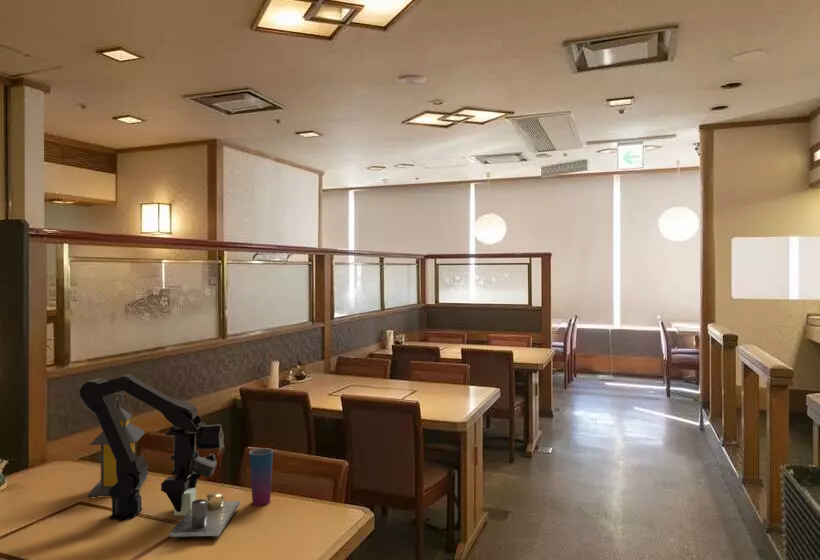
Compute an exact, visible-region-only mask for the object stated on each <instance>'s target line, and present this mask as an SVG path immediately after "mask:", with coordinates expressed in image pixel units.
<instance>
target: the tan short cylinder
mask: <svg viewBox="0 0 820 560" xmlns="http://www.w3.org/2000/svg"><path fill="white" fill-rule="evenodd" d="M206 500H207V508H210V509H216V508H220V507H222V506H223V501H224V493H223V492H220V491H214V492H210V493H207V495H206Z"/></svg>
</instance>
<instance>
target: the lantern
mask: <svg viewBox="0 0 820 560" xmlns="http://www.w3.org/2000/svg"><path fill="white" fill-rule="evenodd" d="M117 396H119V397H120V398H117ZM123 400H124V394H123V393H121V392H115V393H114V394H113V402H115V403H116V404H115V406H116V407H115V408H114V409H115V412H116V414H117V416H118V419H119V421H120V423H121V425H122V428H123V430H124V432H125V435H126V437H127V439H128V442H129V444H130V446H131V448H132V451H133V452H134V453H135V454H136V443H137V442H139V440H140V439H141V438H142V437H143V436H144V435H145V434H146V431H144V430H143V429H141V428H139V427H137V426H136V425H134V424H133V423H131V422H130V421H131V419H130V418H131V417H132V416H133V415H132V413H130V412H128V411H127V410H125V408H123V407H122V408H121V402H122V401H123ZM89 446H100V480H99V481H98V482H97V483H96V484H95V485H94V486H93V488H92V489H91V490H90V491H89V492H88V493H87V497H88V496H89V497H98V496H110V494H109V490H110V489H111V488H112V487H113V486H114V485H115V484H116V483H117V482H118V480H117V476H116V460H115V457H114V455H113V453H112V451H111V448H110V446H109V444H108V441H107V439H106V437H105V435H104V432H103V431H102V432H101V433H100V434H98V436H96V437H95V439H93V440H92V441H91V442H90V443H89ZM147 478H148V476H147V477H146V479H147ZM146 479H145V480H146ZM145 480H144V481H143V482H142V483H141V485H140V487H138V488H137V490H140V491H141V489H142V488H141V486H142V485H143V483H144V482H145ZM146 481H147V480H146ZM145 483H146V482H145ZM145 483H144V484H145ZM143 486H144V485H143ZM143 486H142V487H143ZM140 488H141V489H140Z"/></svg>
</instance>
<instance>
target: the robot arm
mask: <svg viewBox="0 0 820 560" xmlns="http://www.w3.org/2000/svg"><path fill="white" fill-rule="evenodd" d="M122 391H123V392H125V393H127V394H128V395H131V396H132V397H134V398H135V399H137V400H139V401H140V402H143V403H145V404H146V405H148V406H149V407H152V408H153V409H155V410H156V411H159V413H161V414H162V415H163V416H164V418H165V419H166V420H167V421H168V422H169V423H170V424H172V426H171V427H170V429H169V430H168V431H167V432H166V433H165V436H173V454H172V455H171V457H170V460H173V469H172V470H170V472H171V473H170V474H171V475H169V476H168V477H167V478H166V479H164V480H163V481H162V483H161V484H160V490H161V492H163V493H165V494H166V496H167V497H168V499H169V501H170V502H171V504H172V505H173V509H174V508H175V510H176V511H177V512H180V511H181V508H182V502H183V495H184V492H185V491H186V490H187V489H188V488H196V489H197V483H198V481H199V480H198V479H199V478H200V477H201V476H203V477H204V478H211V476H212V475H213V474H214V472H215V470H216V467H218V461H217V459H216V455H215V454H212V453H210V454H209V455H208V456H207V457H206V456H203V457H201V456H200V452H199V451H198V450H196V447H197V448H199V449H200V450H222V449H223V446H224V441H225V440H224V439H225V434H224V431H223V427H222V426H223V425H222V423H217V424H206V422H205V421H204V420H203V419H202V417H201V416H200V415H199V414H198V409H197V407H196V406H195V405H194V404H192V403H190V402H187V401H185V400H180V399H176V398H173V397H170V396H169V395H166V394H164V393H163V392H161V391H160V390H159V389H158V390H157V389H156V388H154V387H152V386H151V385H149V384H147V383H145V382H143V381H142V380H140V379H139V378H137V377H135V375H133V374H130V373H129V374H126V375H123V376H119V377H114V378H109V379H106V378H100V377H98V378H96V379H92V380H89V381H87V382H85V383H83V384H82V386H80V389H79V391H78V392H79V397H80V399H81V400H82V402H83V404H84V405H85V406H86V407H87V409H89V410H90V411H91V412H92V413H94V415H95V417H96V418H97V420H98V423H99V425H100V427H101V430H102V432H104V435H105V437H106V439H107V441H108V444H109V446H110V448H111V451H112V453H113V455H114V457H115V460H116V476H117V480H118V482H117V483H116V484H115V485H114V486H113V487H112V488H111V489H110V490H109V494H110V496H111V497H110V498H111V515H109V517H108V518H109V519H110V520H113V519H114V520H115V519H133V518H134V517H136V516H137V515H138V514H139V513H140V512H142V510H143V507H142V495H140V491H141V489H140V490H137V488H138V487H140V485H141V483H142V482H143V481H144V480H145V479H146V477H147V478H148V475H149V469H148V468H149V467H150V466H149V464H148V463H147V462H146V458H145V455H144V454H141V455H137V454H136V452H135V453H134V452H133V451H132V448H131V446H130V444H129V442H128V439H127V437H126V435H125V432H124V430H123V428H122V425H121V423H120V421H119V419H118V416H117V414H116V412H115V409H116V408H115V407H114V400H113V396H114V394H116V393H120V392H122Z"/></svg>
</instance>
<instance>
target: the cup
mask: <svg viewBox="0 0 820 560" xmlns="http://www.w3.org/2000/svg"><path fill="white" fill-rule="evenodd" d="M248 455H249V457H248V458H249V470H250V484H251V487H250V488H251V498H252V501H251V503H252V505H254V506H256V507H257V506H258V507H261V506H266V505H268V504H270V503H271V497H272V496H271V495H272V494H271V493H272V491H271V490H272V476H273V475H272V473H273V461H274V460H273V457H274V450H273V449H272V448H268V447H262V448H254V449H251V450H250V451H249V452H248Z"/></svg>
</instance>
